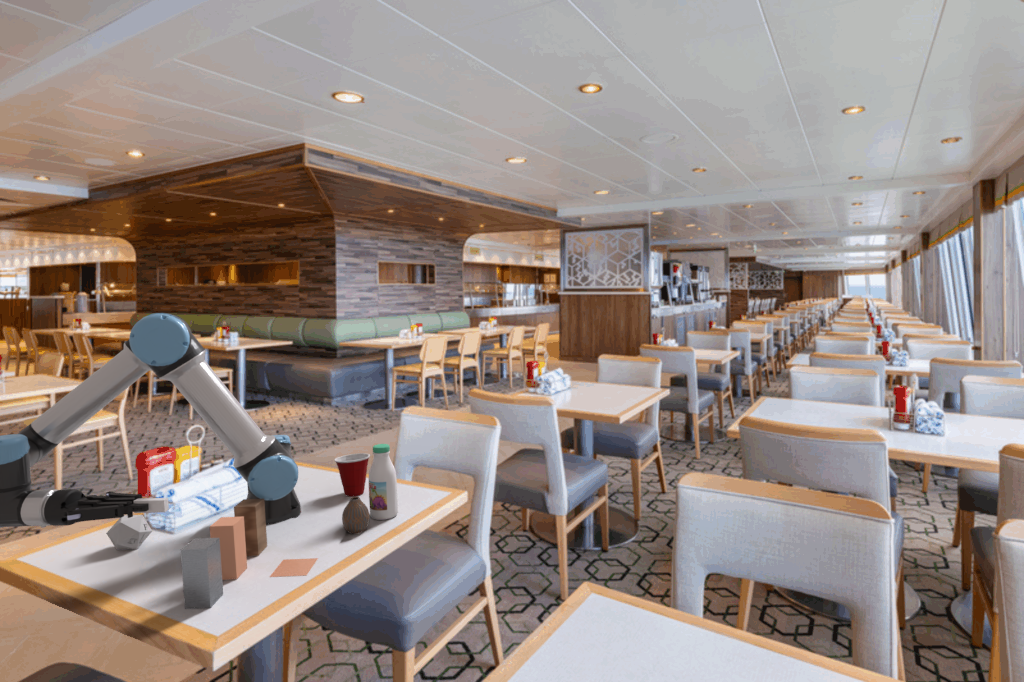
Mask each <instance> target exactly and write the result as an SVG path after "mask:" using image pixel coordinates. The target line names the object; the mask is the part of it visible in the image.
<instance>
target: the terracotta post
mask: <svg viewBox="0 0 1024 682" xmlns="http://www.w3.org/2000/svg"><path fill="white" fill-rule="evenodd" d="M209 536H210V537H209V538H219V540H220V554H221V569H222V581H226V580H227V581H228V580H238V578H240V577H241V576H242V575H243V573H245V571H246V570H247V569H248V561H247V560H248V559H247V557H248V556H246V542H245V527H244V516H242V517H234V516H223V517H222V516H221V517H220V518H218V519H217V520H216V521H215V522H213V523H212V524H211V525H209Z"/></svg>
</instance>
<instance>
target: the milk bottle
mask: <svg viewBox="0 0 1024 682" xmlns="http://www.w3.org/2000/svg"><path fill="white" fill-rule="evenodd" d="M390 453H391V449H390V444H388V443H378V444H375V445H373V446H372V455H373V460H372V463H371V466H370V468H369V472H368V502H369V517H371V519H373V520H377V521H378V520H379V521H383V520H385V521H386V520H390V519H393V518H395V517H396V516H397V515H398V513H399V499H398V482H397V480H398V479H397V472H396V471H397V470H396V467H395V466H394V464H393V462H392V460H391V458H390Z"/></svg>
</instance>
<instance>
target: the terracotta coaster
mask: <svg viewBox="0 0 1024 682" xmlns="http://www.w3.org/2000/svg"><path fill="white" fill-rule="evenodd" d="M318 559H319V558H317V557H316V558H315V557H314V558H291V559H290V558H287V559H282V560H281V562H280V563H279V565H277V567H276V568H275V569H274V570H273V572H272V573H271V574H270V575H269V578H279V577H303V576H308V574H309V573H310V572H311V569H312V568H313V566H314V565H315V564H316V562H317V561H318Z"/></svg>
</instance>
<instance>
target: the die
mask: <svg viewBox="0 0 1024 682" xmlns="http://www.w3.org/2000/svg"><path fill="white" fill-rule="evenodd" d="M152 532H153V530H152V529H151V527H150V525H149V523H148V522H147V520H146V518H145V517H144V515H143V514H133V517H130V518H128V515H127V514H126V515H124V517H121V518H118V519H117V521H116V522H115V523H114V524H113V525H112V526H111V527H110V528H109V529H108V531H107V532H106V535H107V536H108V539H109V540H110V541H111V543H112V545H113V546H114V548H115V549H116V551H124V550H127V551H128V550H138V549H139V548H140V547H141V545H142V544H143V543H144V542H145V541H146V539H147V538H148V537H149V536H150V534H151V533H152Z"/></svg>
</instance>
